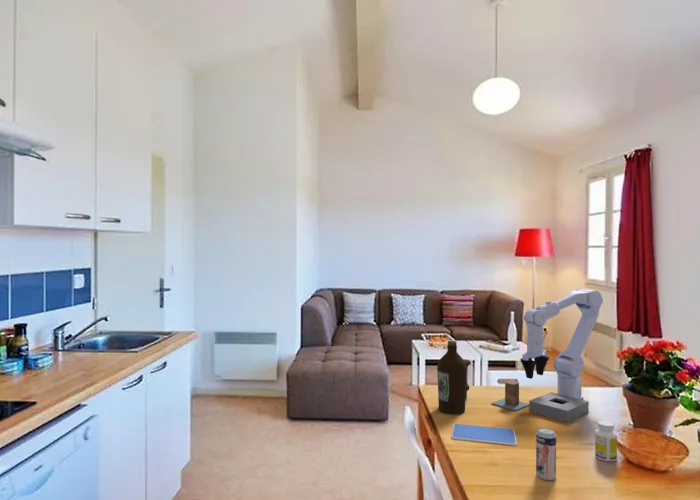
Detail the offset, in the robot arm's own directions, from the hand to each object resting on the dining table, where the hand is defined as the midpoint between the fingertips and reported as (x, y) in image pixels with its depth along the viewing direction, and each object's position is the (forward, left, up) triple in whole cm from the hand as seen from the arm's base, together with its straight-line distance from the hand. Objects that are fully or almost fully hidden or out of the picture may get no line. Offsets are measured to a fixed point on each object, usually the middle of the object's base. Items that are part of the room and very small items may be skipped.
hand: (534, 376), depth 183 cm
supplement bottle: (+30, +38, -10) cm, 49 cm away
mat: (+10, -4, -10) cm, 15 cm away
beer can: (+54, +33, -10) cm, 64 cm away
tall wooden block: (+10, -4, -9) cm, 14 cm away
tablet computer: (+43, +6, -11) cm, 44 cm away
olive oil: (+32, -15, -10) cm, 37 cm away
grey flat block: (+3, +11, -10) cm, 15 cm away
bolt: (+18, -20, -10) cm, 29 cm away
